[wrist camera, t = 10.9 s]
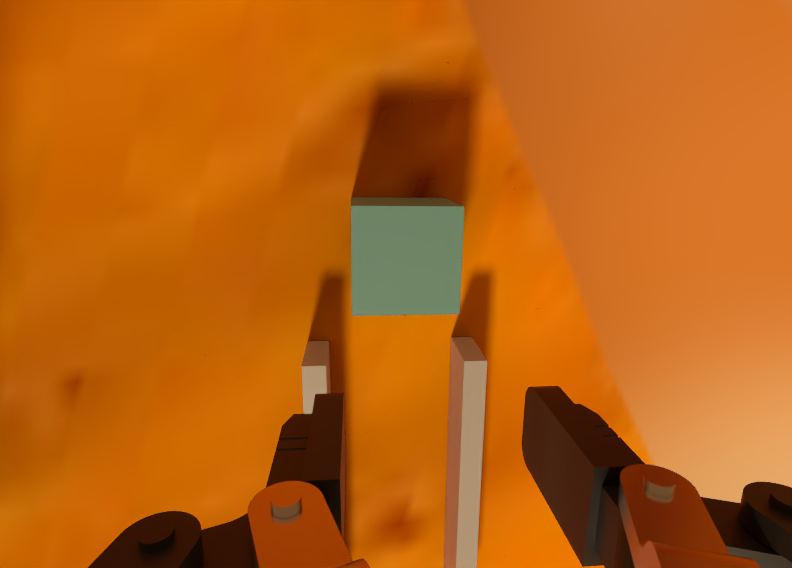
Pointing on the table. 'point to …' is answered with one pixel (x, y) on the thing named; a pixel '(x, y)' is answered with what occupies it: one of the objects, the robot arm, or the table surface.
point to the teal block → (406, 255)
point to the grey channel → (462, 439)
